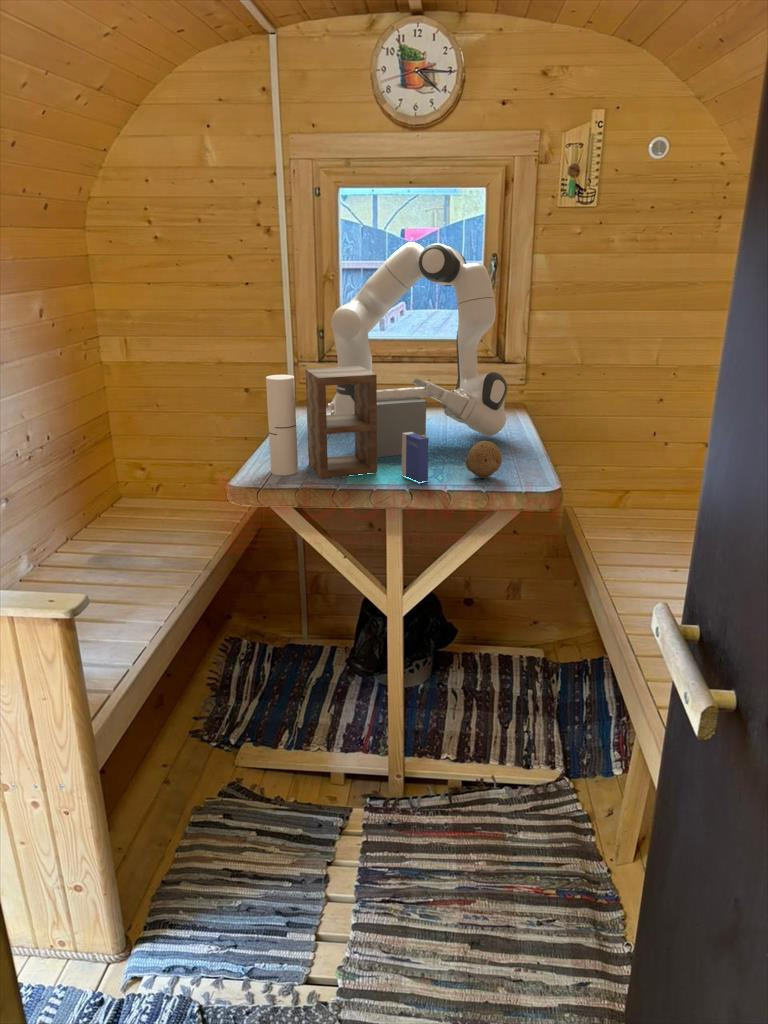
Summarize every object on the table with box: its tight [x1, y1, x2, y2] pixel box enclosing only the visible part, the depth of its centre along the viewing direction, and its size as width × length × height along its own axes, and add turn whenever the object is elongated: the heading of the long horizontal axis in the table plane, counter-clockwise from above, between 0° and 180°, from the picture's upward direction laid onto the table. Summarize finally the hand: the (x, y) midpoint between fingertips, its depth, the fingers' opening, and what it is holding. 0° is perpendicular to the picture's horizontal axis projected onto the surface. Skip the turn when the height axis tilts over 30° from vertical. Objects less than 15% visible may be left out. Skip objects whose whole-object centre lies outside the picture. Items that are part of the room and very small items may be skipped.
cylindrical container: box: [265, 374, 299, 476], centre depth 197 cm, size 7×7×25 cm
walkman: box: [401, 432, 430, 482], centre depth 193 cm, size 8×3×12 cm, turn 33°
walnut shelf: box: [304, 366, 378, 480], centre depth 199 cm, size 14×15×26 cm
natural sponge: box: [464, 440, 503, 480], centre depth 193 cm, size 9×9×10 cm
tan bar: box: [377, 386, 434, 401], centre depth 217 cm, size 3×20×3 cm, turn 109°
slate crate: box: [377, 398, 427, 458], centre depth 219 cm, size 12×16×15 cm
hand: (420, 383), depth 217 cm, fingers open, 8 cm apart
